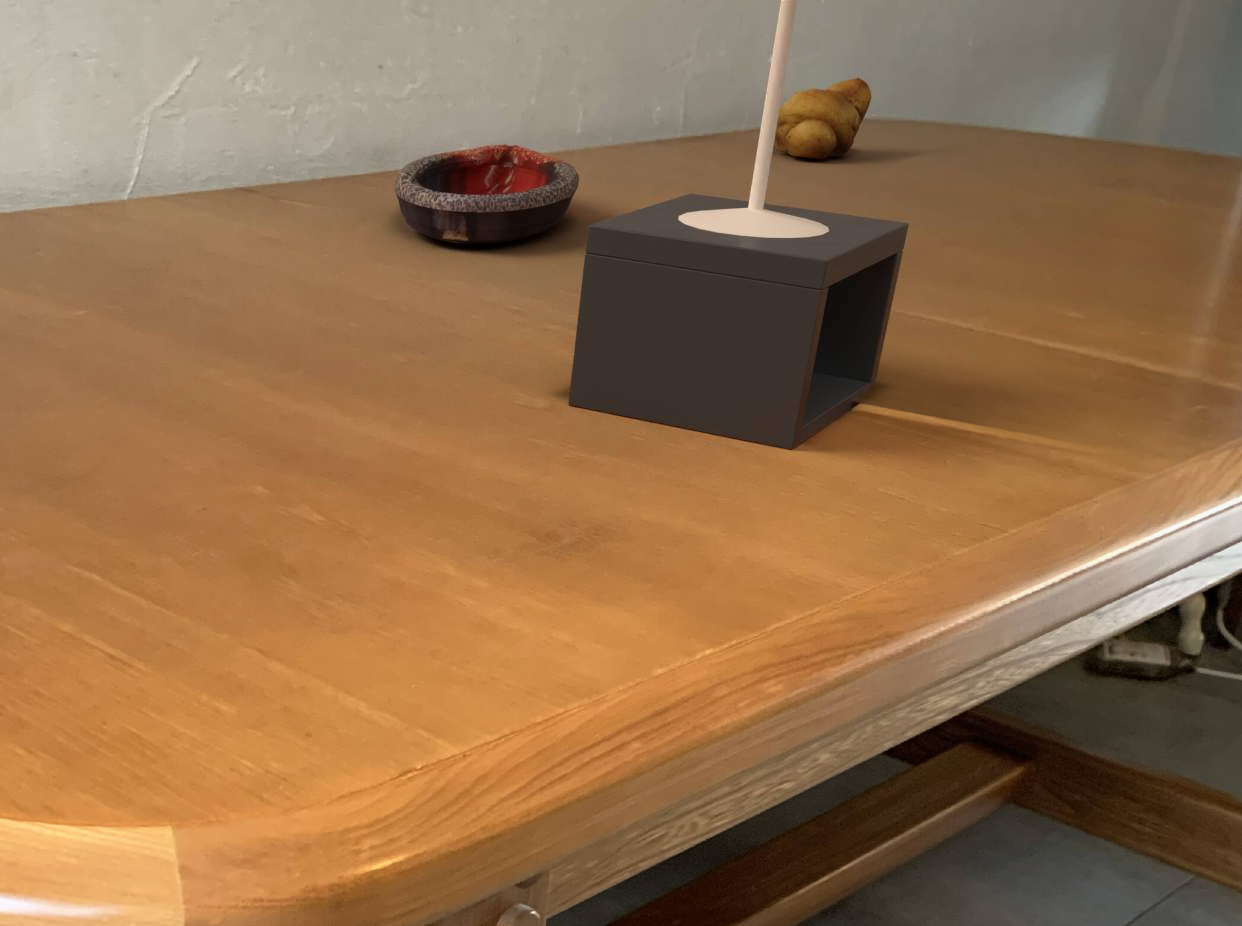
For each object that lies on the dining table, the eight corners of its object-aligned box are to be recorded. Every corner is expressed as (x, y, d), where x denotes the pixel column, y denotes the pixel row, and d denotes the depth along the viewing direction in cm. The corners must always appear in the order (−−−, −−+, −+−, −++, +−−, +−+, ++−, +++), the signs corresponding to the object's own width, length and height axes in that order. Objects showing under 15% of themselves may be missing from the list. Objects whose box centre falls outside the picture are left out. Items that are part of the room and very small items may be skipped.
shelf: (873, 395, 105) (909, 223, 100) (791, 450, 94) (827, 260, 89) (666, 357, 111) (689, 193, 106) (567, 405, 100) (587, 224, 95)
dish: (355, 245, 138) (357, 179, 136) (440, 189, 163) (444, 132, 160) (540, 263, 135) (546, 196, 132) (598, 204, 160) (605, 146, 157)
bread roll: (833, 166, 187) (848, 85, 182) (750, 157, 191) (762, 77, 186) (865, 154, 196) (880, 77, 192) (784, 145, 200) (797, 69, 196)
